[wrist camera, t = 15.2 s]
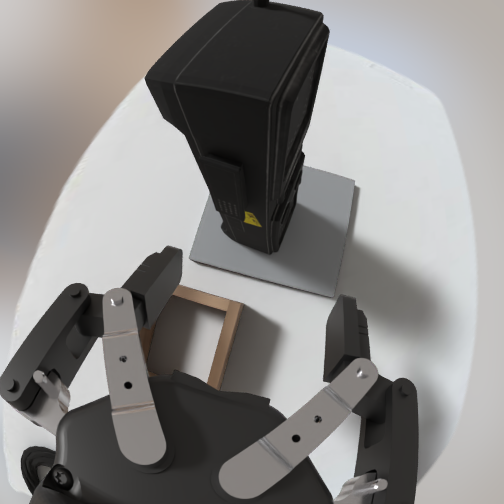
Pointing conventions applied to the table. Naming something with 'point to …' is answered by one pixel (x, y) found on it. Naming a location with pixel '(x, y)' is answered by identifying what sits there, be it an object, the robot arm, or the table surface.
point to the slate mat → (289, 238)
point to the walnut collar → (225, 337)
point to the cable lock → (35, 464)
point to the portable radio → (246, 108)
